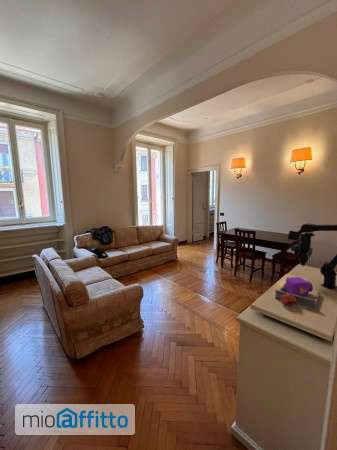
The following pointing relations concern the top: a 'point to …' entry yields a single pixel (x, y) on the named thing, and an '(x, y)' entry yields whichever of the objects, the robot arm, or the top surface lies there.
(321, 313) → the top surface
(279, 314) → the top surface
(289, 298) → the pomegranate
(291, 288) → the toy camera
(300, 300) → the guide bay
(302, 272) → the top surface
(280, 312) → the top surface
